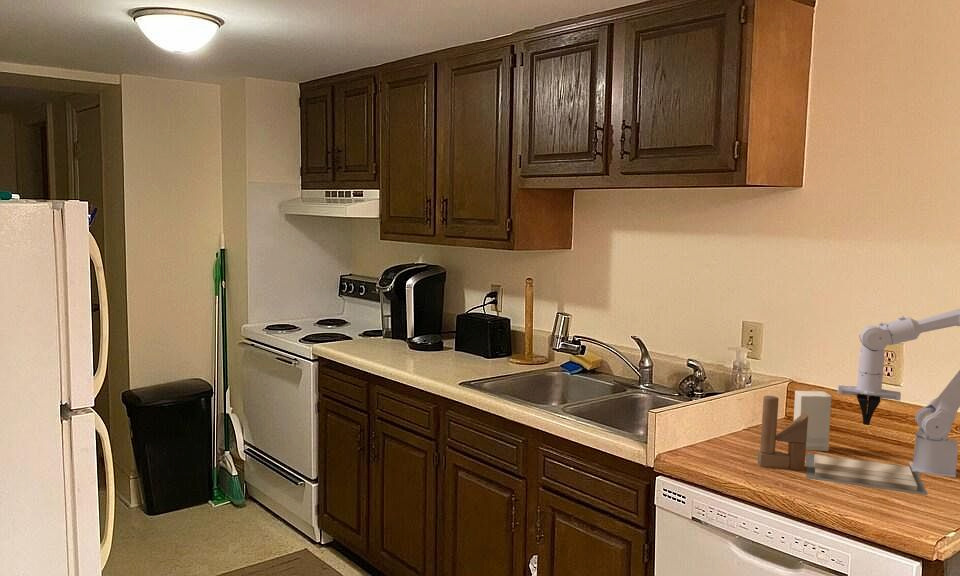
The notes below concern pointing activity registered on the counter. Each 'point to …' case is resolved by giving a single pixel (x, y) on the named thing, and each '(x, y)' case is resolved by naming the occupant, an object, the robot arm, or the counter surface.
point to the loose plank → (862, 464)
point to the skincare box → (815, 417)
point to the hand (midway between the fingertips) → (866, 424)
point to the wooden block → (781, 439)
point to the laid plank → (865, 477)
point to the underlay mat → (811, 475)
